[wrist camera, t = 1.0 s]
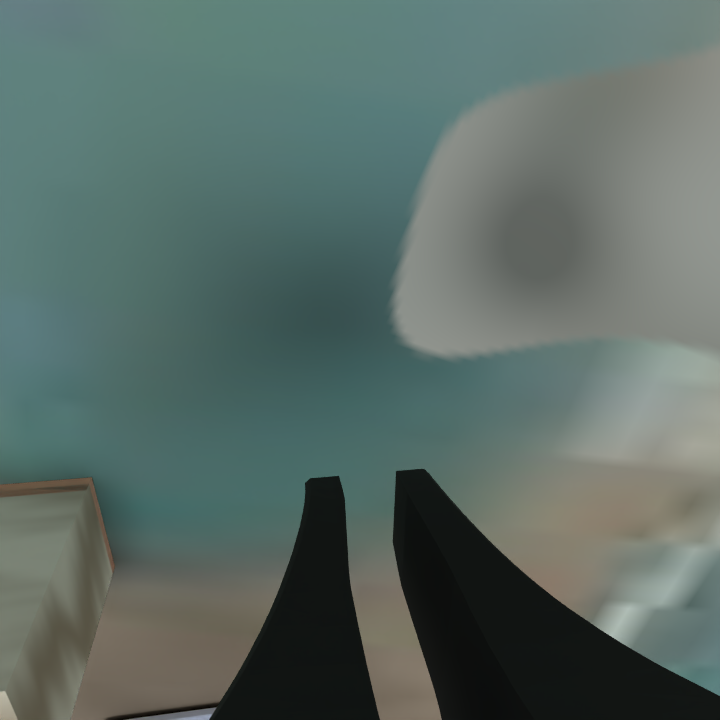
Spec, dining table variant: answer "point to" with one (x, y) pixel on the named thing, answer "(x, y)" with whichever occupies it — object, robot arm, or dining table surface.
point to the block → (49, 594)
